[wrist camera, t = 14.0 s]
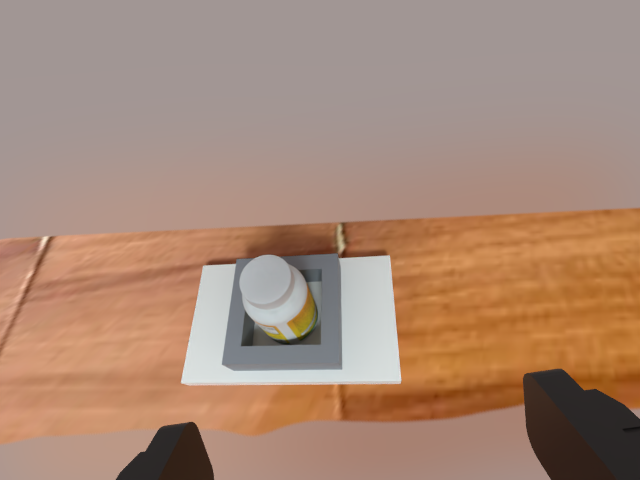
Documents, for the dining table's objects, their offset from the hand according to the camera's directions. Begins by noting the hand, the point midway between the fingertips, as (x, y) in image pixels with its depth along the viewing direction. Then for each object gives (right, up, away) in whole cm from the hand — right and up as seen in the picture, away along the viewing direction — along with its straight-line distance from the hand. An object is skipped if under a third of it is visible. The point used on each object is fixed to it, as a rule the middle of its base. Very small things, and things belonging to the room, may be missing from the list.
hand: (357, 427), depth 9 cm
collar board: (-4, -4, +28) cm, 28 cm away
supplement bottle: (-4, -3, +26) cm, 27 cm away
